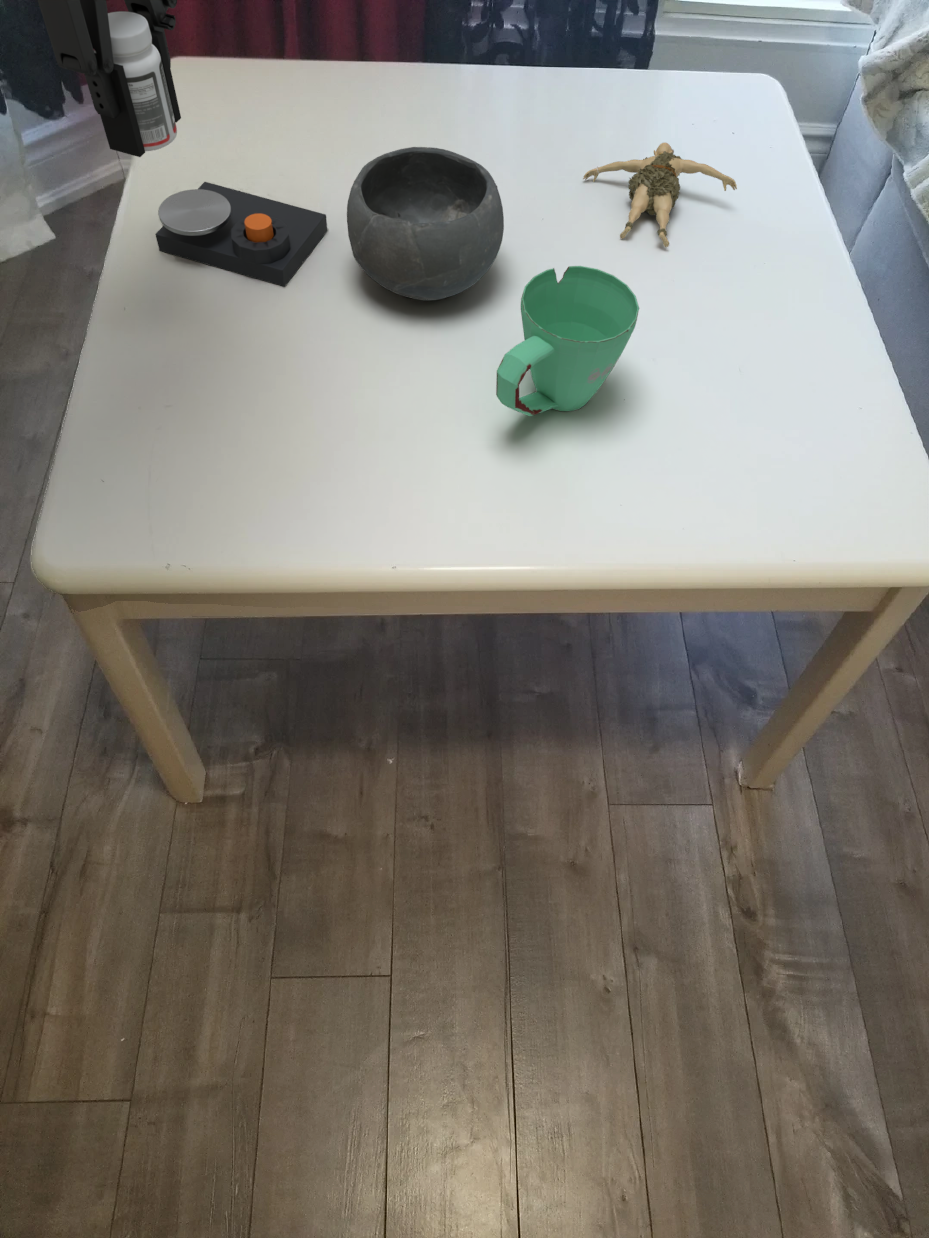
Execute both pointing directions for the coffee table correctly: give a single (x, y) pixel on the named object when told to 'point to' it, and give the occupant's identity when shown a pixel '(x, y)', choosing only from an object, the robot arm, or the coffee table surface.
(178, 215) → the scale pan
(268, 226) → the button
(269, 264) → the scale
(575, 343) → the mug
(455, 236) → the bowl
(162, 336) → the coffee table surface
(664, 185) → the figurine
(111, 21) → the pill bottle
